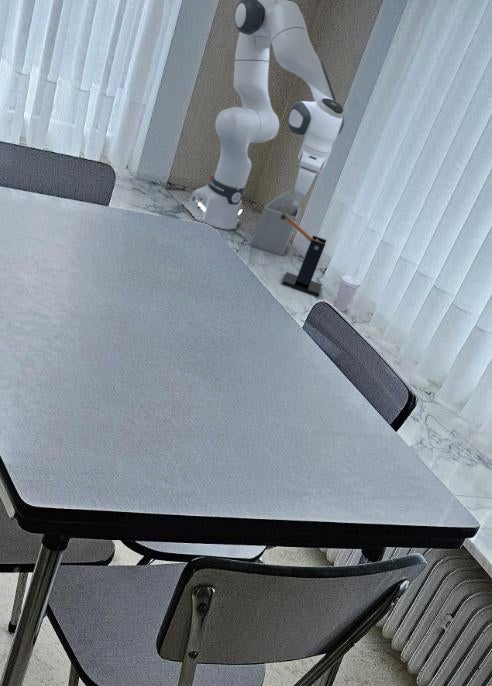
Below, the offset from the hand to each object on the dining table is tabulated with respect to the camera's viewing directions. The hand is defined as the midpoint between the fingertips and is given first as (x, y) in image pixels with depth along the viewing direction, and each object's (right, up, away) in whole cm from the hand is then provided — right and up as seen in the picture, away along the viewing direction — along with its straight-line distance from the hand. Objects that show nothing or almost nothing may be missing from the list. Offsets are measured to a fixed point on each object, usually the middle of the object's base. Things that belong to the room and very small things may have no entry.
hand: (296, 201), depth 308 cm
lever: (+1, -9, +5) cm, 10 cm away
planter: (-2, -6, +34) cm, 35 cm away
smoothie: (+14, -32, +6) cm, 36 cm away
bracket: (+4, -23, +13) cm, 27 cm away
